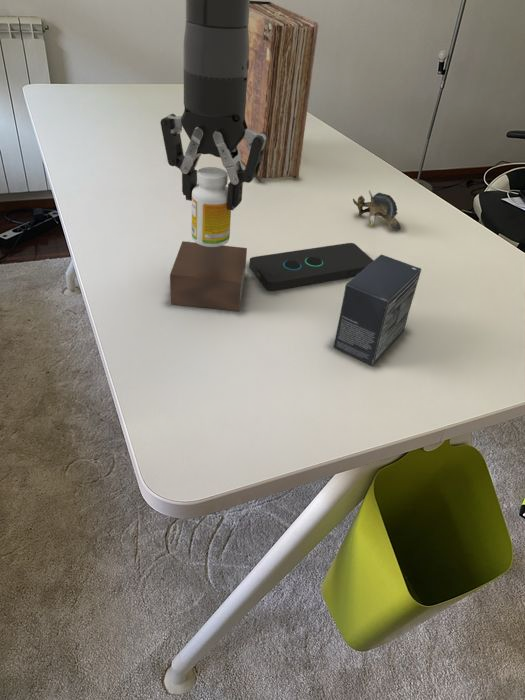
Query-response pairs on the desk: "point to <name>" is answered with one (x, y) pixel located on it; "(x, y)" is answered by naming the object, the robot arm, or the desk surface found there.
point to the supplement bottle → (210, 208)
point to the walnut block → (208, 276)
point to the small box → (376, 308)
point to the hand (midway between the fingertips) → (211, 202)
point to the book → (278, 85)
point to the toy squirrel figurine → (379, 209)
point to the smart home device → (309, 266)
